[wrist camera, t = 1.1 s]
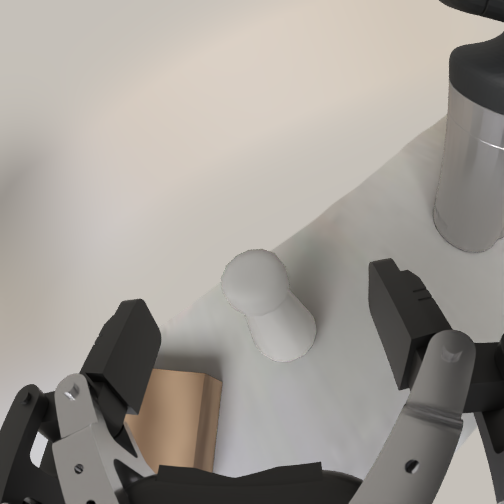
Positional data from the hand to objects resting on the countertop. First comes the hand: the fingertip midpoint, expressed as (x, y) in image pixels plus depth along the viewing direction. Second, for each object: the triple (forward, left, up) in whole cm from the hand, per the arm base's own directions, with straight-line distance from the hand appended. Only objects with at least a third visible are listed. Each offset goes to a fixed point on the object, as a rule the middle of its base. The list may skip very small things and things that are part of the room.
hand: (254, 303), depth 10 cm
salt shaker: (+3, -5, -19) cm, 20 cm away
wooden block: (+15, +5, -19) cm, 24 cm away
